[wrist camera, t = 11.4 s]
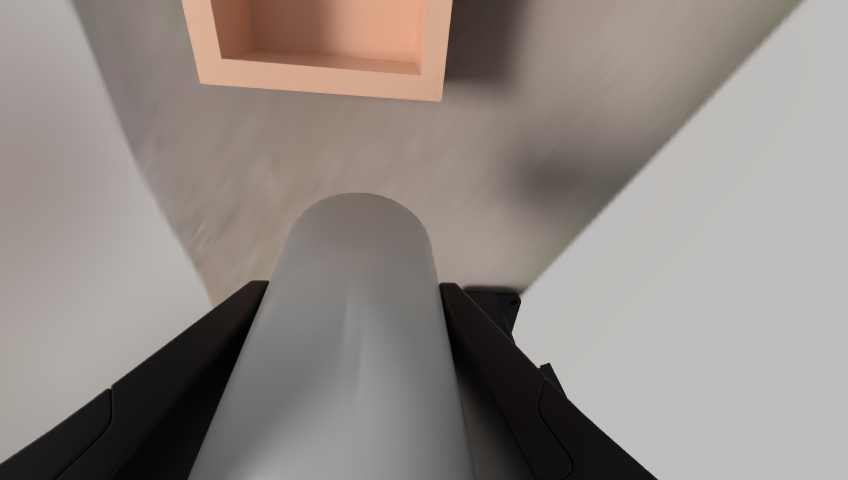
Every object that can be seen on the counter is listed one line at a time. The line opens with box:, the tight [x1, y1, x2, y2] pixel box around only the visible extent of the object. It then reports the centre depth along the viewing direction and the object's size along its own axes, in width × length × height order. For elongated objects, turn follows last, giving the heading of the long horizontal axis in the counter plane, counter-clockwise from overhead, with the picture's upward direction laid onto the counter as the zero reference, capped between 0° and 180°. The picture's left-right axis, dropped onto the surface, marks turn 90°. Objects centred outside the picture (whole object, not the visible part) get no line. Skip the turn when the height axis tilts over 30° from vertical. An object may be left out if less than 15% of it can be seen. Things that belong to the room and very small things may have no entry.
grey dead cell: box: [187, 193, 477, 480], centre depth 7 cm, size 4×4×8 cm
